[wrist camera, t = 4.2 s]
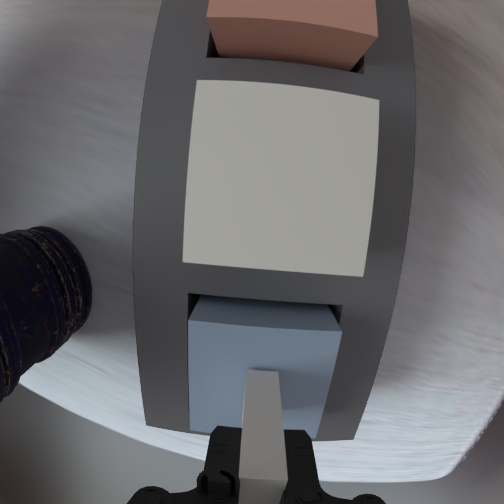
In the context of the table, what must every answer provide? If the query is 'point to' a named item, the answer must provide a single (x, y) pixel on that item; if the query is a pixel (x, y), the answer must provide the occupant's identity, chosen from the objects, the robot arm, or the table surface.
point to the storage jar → (38, 299)
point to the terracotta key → (294, 30)
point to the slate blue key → (259, 358)
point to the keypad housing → (250, 279)
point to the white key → (280, 178)
